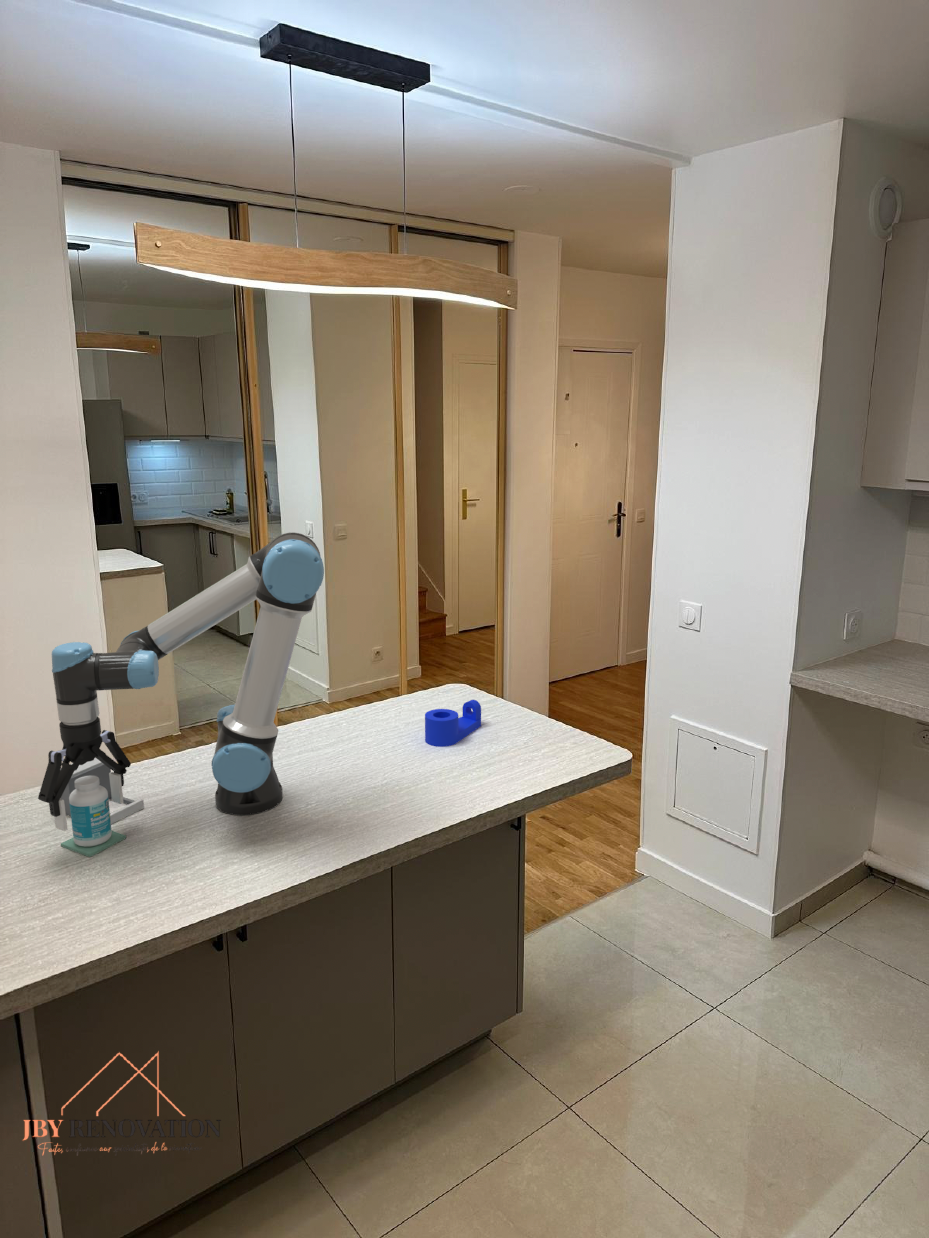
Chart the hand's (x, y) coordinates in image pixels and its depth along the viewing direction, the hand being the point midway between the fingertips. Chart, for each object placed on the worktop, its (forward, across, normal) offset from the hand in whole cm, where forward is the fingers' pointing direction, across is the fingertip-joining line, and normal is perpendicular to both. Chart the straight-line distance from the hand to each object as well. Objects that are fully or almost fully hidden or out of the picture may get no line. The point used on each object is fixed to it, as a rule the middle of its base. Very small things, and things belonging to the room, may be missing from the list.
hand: (90, 814), depth 178 cm
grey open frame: (+6, -10, -11) cm, 17 cm away
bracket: (+7, -89, +36) cm, 96 cm away
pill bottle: (+6, 0, 0) cm, 6 cm away
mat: (+6, 0, 0) cm, 6 cm away
